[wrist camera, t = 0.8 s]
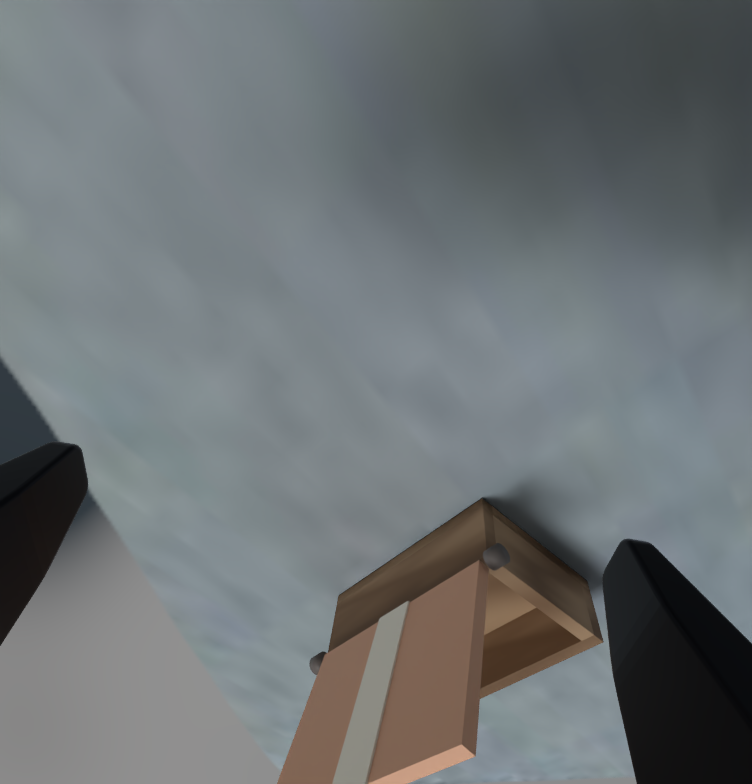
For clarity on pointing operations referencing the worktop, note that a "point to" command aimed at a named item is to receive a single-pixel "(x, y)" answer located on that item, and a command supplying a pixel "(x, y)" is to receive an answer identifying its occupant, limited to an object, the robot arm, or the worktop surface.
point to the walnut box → (504, 595)
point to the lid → (398, 693)
